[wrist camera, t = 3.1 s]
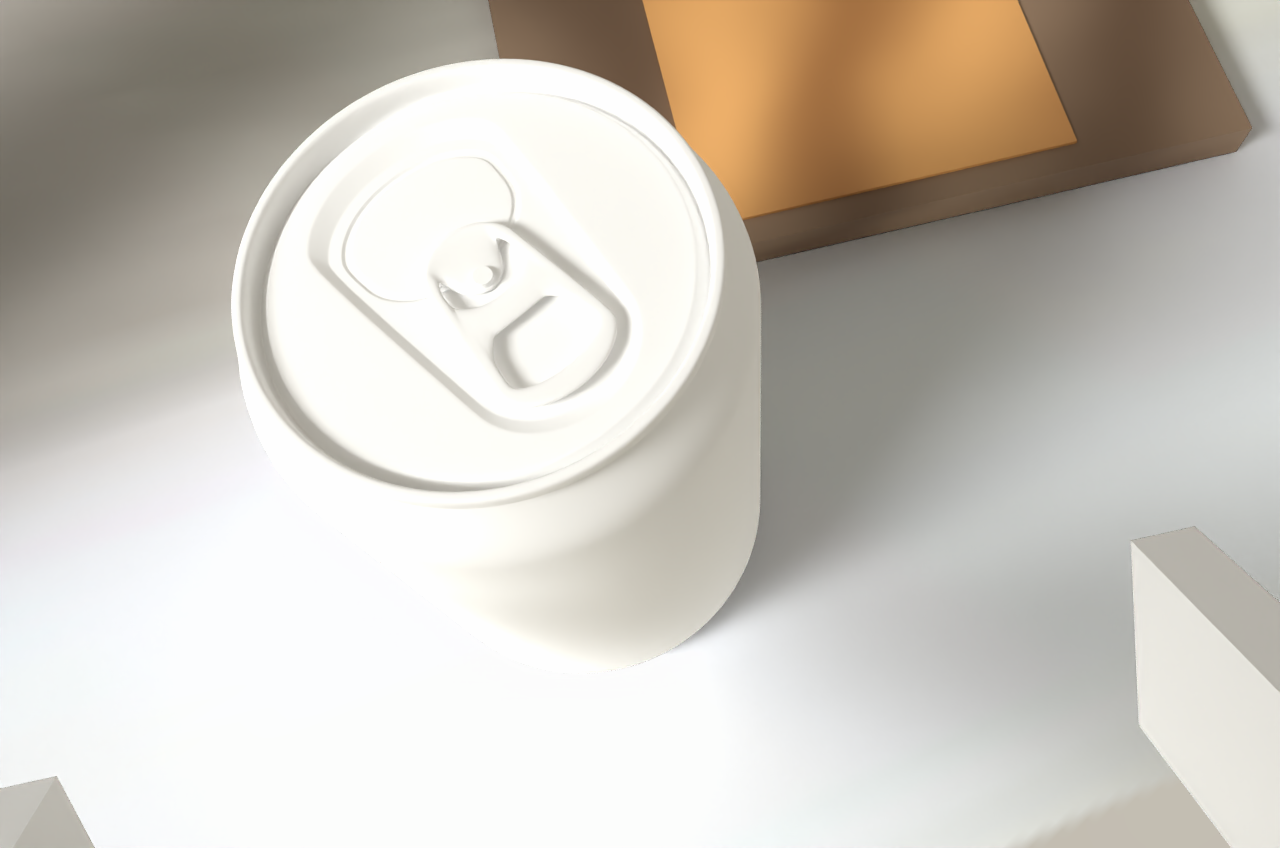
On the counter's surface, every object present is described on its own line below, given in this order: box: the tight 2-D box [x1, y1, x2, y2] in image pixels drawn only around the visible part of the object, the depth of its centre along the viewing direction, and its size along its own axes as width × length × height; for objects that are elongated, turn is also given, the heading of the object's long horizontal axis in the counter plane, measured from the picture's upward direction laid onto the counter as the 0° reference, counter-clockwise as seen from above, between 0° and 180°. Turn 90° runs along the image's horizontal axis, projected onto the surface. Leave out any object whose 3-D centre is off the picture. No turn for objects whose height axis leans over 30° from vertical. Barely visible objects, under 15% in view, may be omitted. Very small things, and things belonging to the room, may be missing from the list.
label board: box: [488, 0, 1252, 262], centre depth 30 cm, size 18×11×1 cm, turn 102°
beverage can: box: [231, 59, 761, 673], centre depth 21 cm, size 8×8×12 cm
